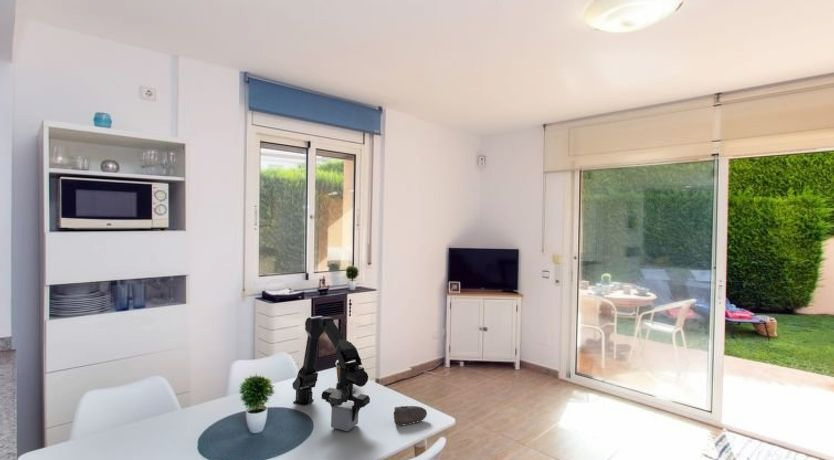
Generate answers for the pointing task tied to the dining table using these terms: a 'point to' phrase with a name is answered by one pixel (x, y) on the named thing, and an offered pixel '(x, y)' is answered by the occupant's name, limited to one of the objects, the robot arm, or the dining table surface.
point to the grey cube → (343, 416)
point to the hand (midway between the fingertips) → (344, 419)
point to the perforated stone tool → (408, 414)
